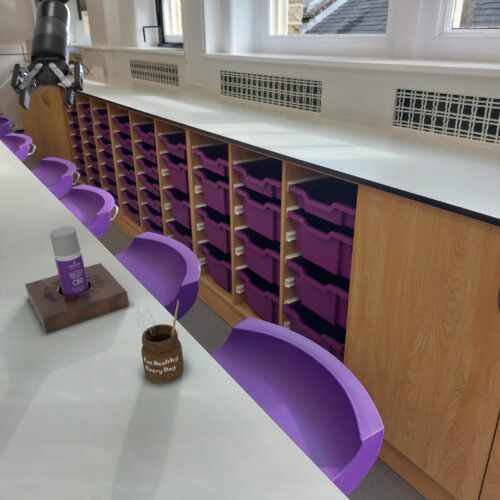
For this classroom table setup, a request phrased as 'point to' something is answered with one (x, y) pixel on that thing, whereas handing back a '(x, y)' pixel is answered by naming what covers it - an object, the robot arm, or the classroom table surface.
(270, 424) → the classroom table surface
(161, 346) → the utensil holder
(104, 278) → the socket plate
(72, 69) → the robot arm
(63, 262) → the container
